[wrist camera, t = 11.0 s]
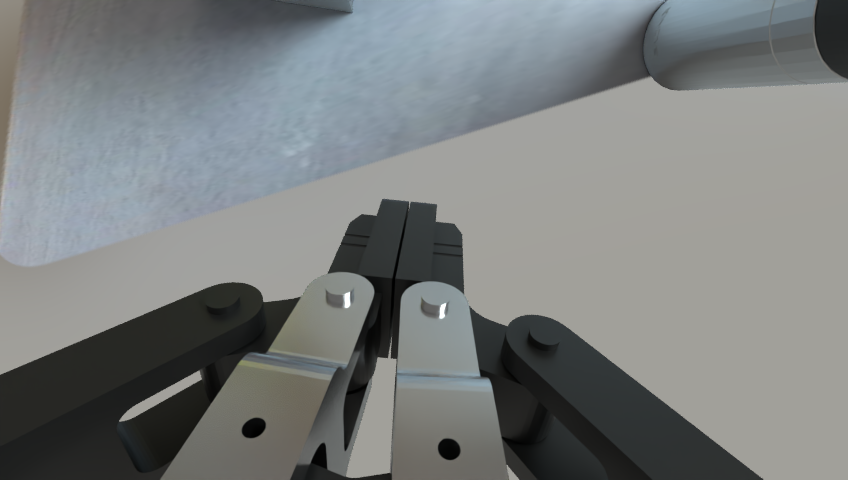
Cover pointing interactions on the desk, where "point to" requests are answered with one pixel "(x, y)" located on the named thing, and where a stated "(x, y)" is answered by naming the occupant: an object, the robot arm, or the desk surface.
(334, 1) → the grey drawer cabinet
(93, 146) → the desk surface
